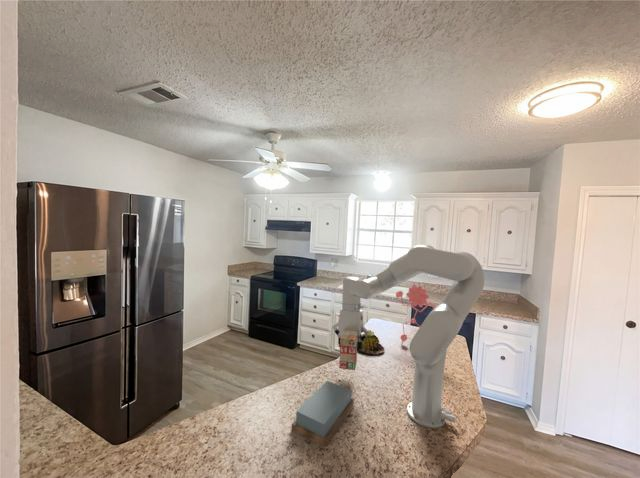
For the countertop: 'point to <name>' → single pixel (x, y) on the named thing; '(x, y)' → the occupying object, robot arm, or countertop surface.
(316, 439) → the tower base slab
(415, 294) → the pink flower arrangement
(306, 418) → the tower top slab
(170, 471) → the countertop surface
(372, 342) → the cactus
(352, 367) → the stack of blocks
